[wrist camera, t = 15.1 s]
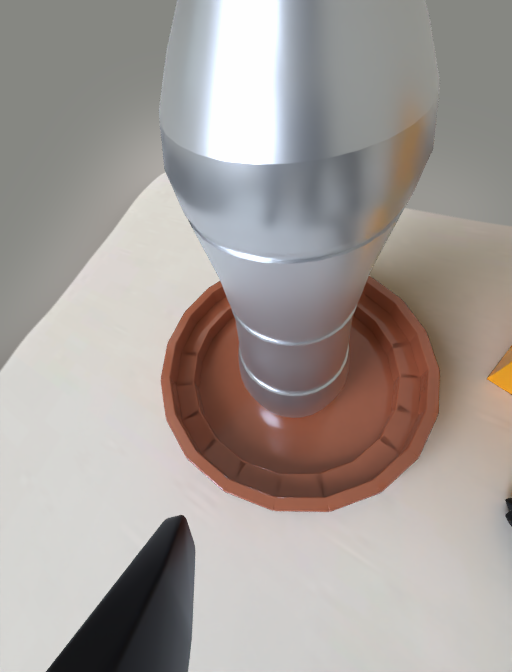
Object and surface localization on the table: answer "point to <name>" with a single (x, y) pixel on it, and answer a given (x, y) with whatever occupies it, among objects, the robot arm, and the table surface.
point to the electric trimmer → (511, 505)
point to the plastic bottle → (296, 167)
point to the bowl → (310, 431)
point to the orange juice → (503, 372)
